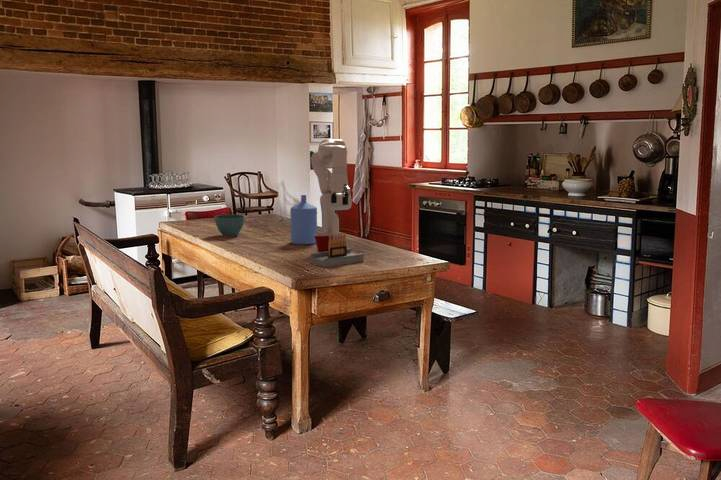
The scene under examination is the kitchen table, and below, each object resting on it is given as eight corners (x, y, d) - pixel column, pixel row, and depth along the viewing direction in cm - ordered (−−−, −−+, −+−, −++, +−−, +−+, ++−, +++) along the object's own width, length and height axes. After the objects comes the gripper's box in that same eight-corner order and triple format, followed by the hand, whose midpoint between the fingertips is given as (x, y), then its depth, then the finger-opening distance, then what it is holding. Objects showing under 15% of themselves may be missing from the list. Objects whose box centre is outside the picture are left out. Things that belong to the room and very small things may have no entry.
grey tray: (311, 263, 328) (310, 253, 328) (349, 257, 343) (349, 248, 342) (324, 267, 319) (324, 257, 318) (363, 261, 334) (363, 251, 333)
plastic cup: (323, 252, 356) (323, 231, 354) (338, 255, 350) (338, 233, 348) (309, 255, 348) (309, 233, 346) (324, 258, 341) (324, 235, 339)
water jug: (313, 245, 379) (312, 197, 375) (287, 244, 382) (286, 196, 378) (320, 240, 394) (320, 194, 390) (295, 239, 398) (294, 193, 393)
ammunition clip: (329, 258, 327) (329, 234, 325) (327, 257, 328) (327, 233, 326) (347, 255, 333) (347, 232, 331) (344, 255, 335) (344, 231, 333)
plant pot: (248, 233, 420) (247, 214, 418) (240, 238, 402) (239, 218, 400) (220, 233, 422) (219, 214, 420) (211, 237, 404) (210, 218, 402)
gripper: (323, 169, 340) (323, 202, 343) (343, 171, 326) (343, 205, 329) (335, 169, 344) (335, 201, 347) (355, 171, 331) (355, 204, 334)
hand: (339, 203), depth 338 cm, fingers open, 9 cm apart
